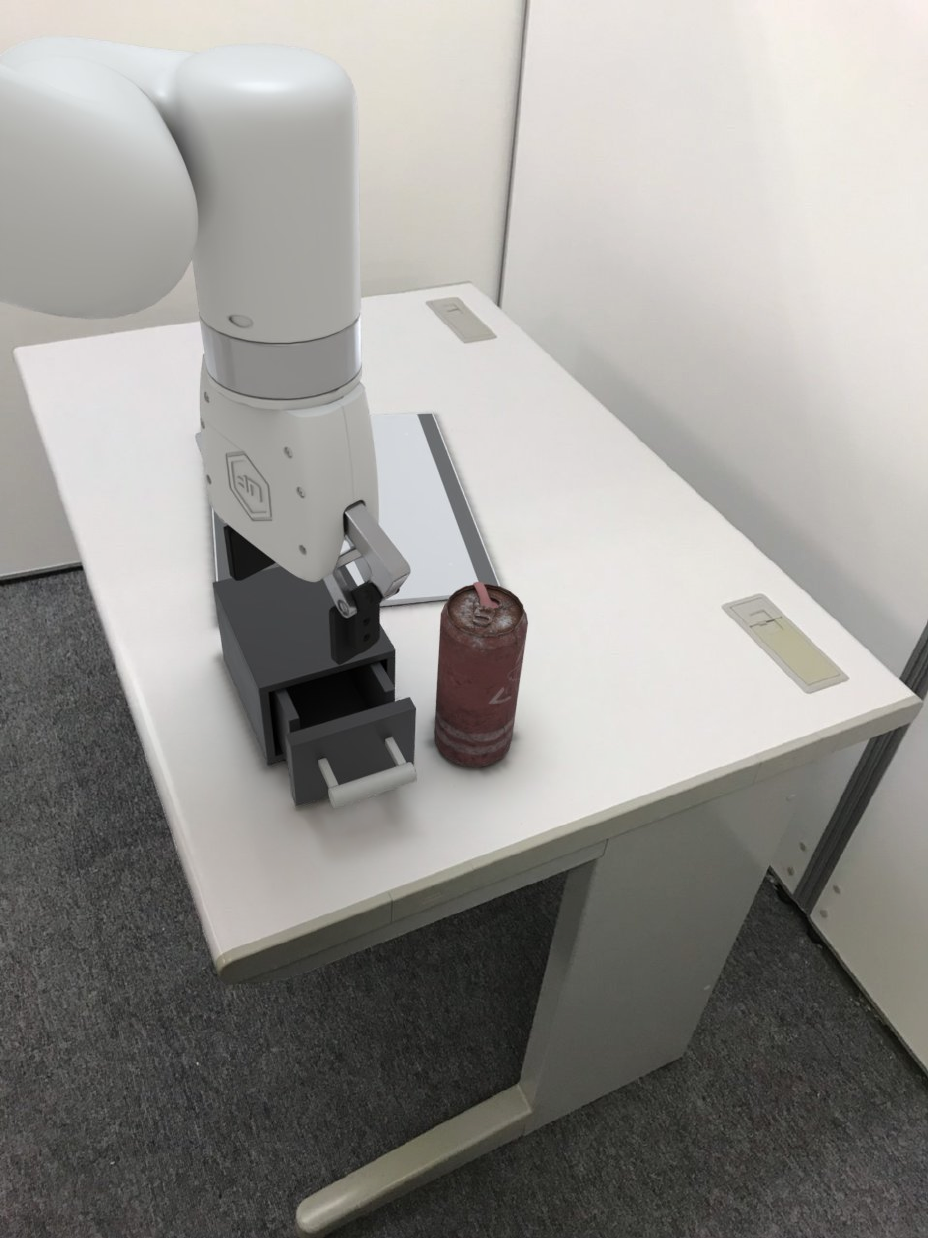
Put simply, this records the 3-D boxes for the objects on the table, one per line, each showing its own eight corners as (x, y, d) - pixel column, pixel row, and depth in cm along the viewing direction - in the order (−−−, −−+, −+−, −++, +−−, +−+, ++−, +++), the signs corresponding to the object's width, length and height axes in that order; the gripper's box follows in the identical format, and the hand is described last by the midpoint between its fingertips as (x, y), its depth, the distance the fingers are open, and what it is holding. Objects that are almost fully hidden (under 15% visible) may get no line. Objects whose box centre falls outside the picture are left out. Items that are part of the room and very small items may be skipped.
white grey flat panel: (501, 593, 89) (503, 583, 89) (219, 623, 84) (218, 613, 83) (432, 414, 112) (433, 405, 111) (207, 429, 107) (206, 420, 106)
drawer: (436, 808, 70) (439, 748, 66) (314, 851, 67) (310, 790, 62) (359, 668, 80) (358, 608, 76) (250, 699, 77) (242, 638, 72)
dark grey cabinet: (394, 725, 77) (396, 649, 71) (267, 765, 73) (258, 688, 68) (340, 627, 85) (337, 551, 79) (223, 658, 81) (212, 582, 76)
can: (492, 702, 79) (507, 570, 70) (523, 759, 75) (543, 627, 66) (422, 719, 78) (428, 585, 68) (449, 778, 73) (459, 645, 64)
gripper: (118, 303, 49) (168, 566, 60) (338, 446, 40) (347, 721, 52) (241, 266, 53) (266, 519, 65) (465, 389, 44) (448, 655, 56)
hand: (302, 609), depth 58 cm, fingers open, 9 cm apart
